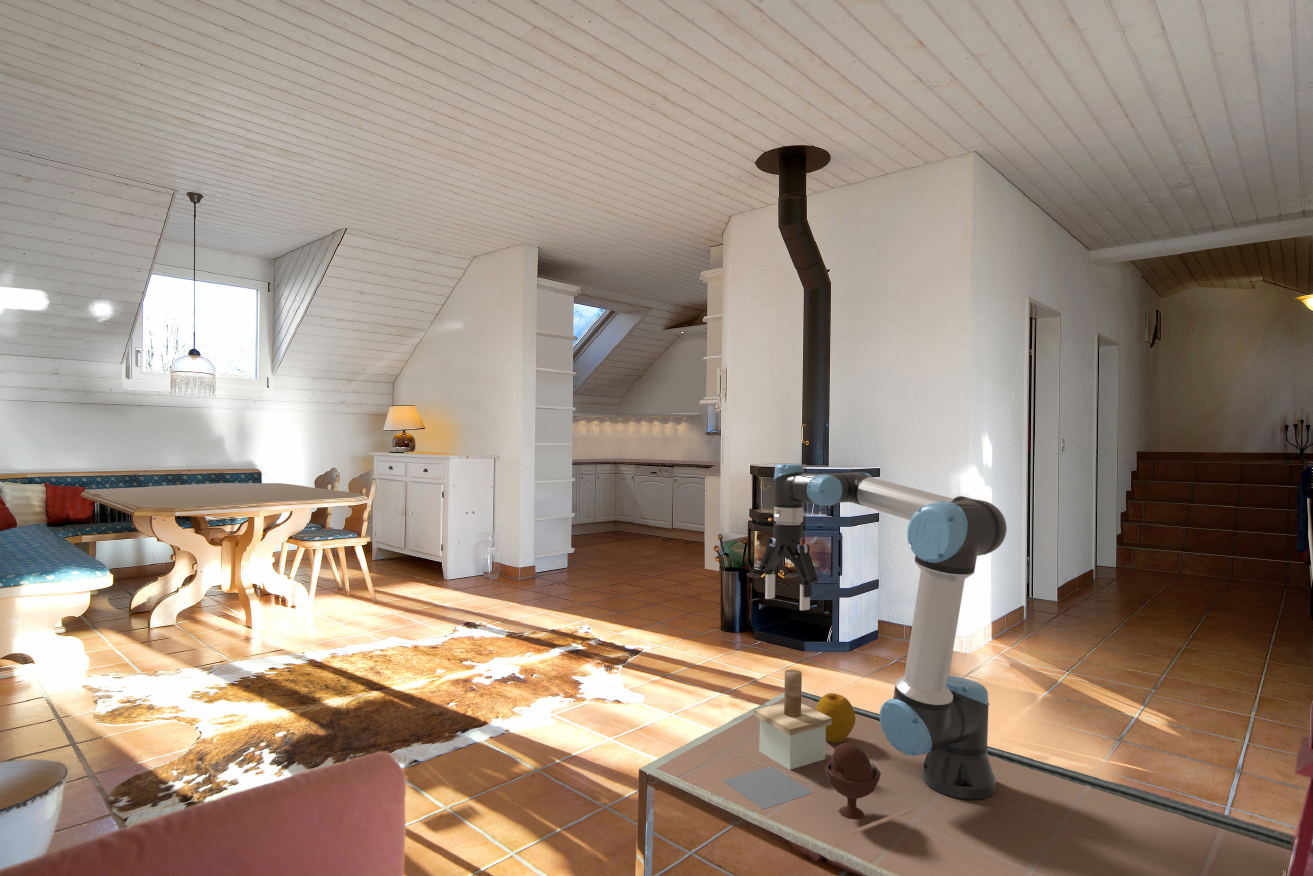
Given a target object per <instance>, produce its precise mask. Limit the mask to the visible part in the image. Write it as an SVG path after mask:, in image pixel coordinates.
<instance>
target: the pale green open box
mask: <svg viewBox="0 0 1313 876" xmlns="http://www.w3.org/2000/svg"><path fill="white" fill-rule="evenodd" d="M758 739H759V745H758V746H759V747H758V748H759V749H758V750H759V751H758V752H760V753H761V754H763V755H765V756H766V757H767V758H770V759H771V760H773V761H775V762H776V763H777V764H779V765H781V766H783V768H786V769H787V770H789V771H790V770H794V769H798V768H800V767H804V766H808V765H810V764H814V763H817V762H820V761H823V760H826V741H827V740H826V726H824V727H821V728H817V729H813V730H810V731H806V732H803V733H799V734H795V735H792V736H789V735H787V734H786V733H784V732H782V731H780V730H778V729H777V728H775V727H773V726H771V725H769V724H768V723H766V722H764V721H762V720H760V719H759V738H758Z"/></svg>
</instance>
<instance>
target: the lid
mask: <svg viewBox="0 0 1313 876" xmlns="http://www.w3.org/2000/svg"><path fill="white" fill-rule="evenodd" d="M802 675H803V673H802V671H800V670H799V669H798V670H797V669H786V670H784V692H783V693H784V694H783V695H784V697H783V698H784V699H783V700H784V702H781V703H776V704H773V705H769V706H768V705H767V706H764V707H760V708H756V709H753V717H754V718H756V719H758V720H759V721H760V720H762V721H764V722H766V723H768V724H769V725H771V726H773V727H775V728H777V729H778V730H780V731H782V732H784V733H786V734H787V735H789V736H792V735H795V734H799V733H803V732H806V731H810V730H813V729H817V728H821V727H824V726H828V725H832V718H831V717H829V716H827V715H825V714H823V713H821V712H818V711H816V709H814V708H812V707H810V706H808V705H806V704H804V703H802V690H803V689H802V682H803V681H802V680H803V679H802V678H803V677H802Z"/></svg>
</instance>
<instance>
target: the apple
mask: <svg viewBox="0 0 1313 876" xmlns="http://www.w3.org/2000/svg"><path fill="white" fill-rule="evenodd" d="M815 710H816V711H818V712H821V713H823V714H825V715H827V716H829V717H831V718H832V725H828V726H826V741H828V742H829V743H832V744H840V743H842V742H843V741H845V740H846V739H847V737H848V736H849V735H850V733H851V732H852V730H853V729H854V726H855V725H856V714H855V713H856V712H855V710H854V708H853V705H852V704H851V702H850V700H848V698H847V697H845V696H843V695H841V694H839V693H833V692H830V693H829V692H828V693H826V694H824V695H823V696H822V697H821V698H820V699H819V701H818V702H817V704H816V707H815Z"/></svg>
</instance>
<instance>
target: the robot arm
mask: <svg viewBox="0 0 1313 876" xmlns="http://www.w3.org/2000/svg"><path fill="white" fill-rule="evenodd" d="M804 503H806V504H811V505H816V506H822V507H823V506H829V507H830V506H834V505H835V504H838V503H839V504H841V503H852V504H856V505H860V506H863V507H866V508H870V509H872V510H876V511H878V512H879V511H880V512H883V513H885V514H889V515H893V516H896V517H898V518H902V519H905V520H908V521H909V523H908V525H907V530H906V537H907V542H908V544H910V550H911V551H912V553H913V554H914V563H915V564H916V566H917V567H918V568H919V569H920V574H919V580H918V586H917V592H916V598H915V599H916V600H915V605H914V612H913V618H912V626H911V630H910V638H909V644H908V651H907V657H906V662H905V664H906V665H905V671H904V675H903V676H901V677H898V678H897V679H896V681H895V683H894V684H895V685H894V691H893V698H889V699H887V700H886V701H885V702H884V703H883V704H881V707H880V710H879V722H880V723H879V724H880V727H881V730H882V732H883V734H884V735H885V737H886V740H887V741H888V742H889V743H890V745H891V746H892V747H893V748H894V749H895V750H896V751H898V752H900V753H901V754H904V755H905V756H910V757H915V756H920V755H925V758H924V761H923V763H922V768H921V769H922V770H921V771H922V772H921V778H922V780H923V782H924V783H925V784H926V786H928V787H929V788H931V789H932V790H935V791H936V792H938V793H940V794H943V795H945V794H946V796H948V795H950V796H949V797H953V798H957V799H962V800H963V799H964V800H983V799H987V798H990V797H991V796H990V795H991V794H993V793H994V794H995V792H996V777H995V774H994V773H993V769H992V764H991V762H990V758H989V754H988V739H989V738H988V737H989V735H988V732H989V706H990V703H989V692H988V690H987V688H986V687H985V686H984V685H983V684H981V683H979V682H977V681H976V680H972V679H968V678H966V677H965V678H964V677H960V676H956V675H950V671H951V670H950V669H951V666H952V660H953V659H952V658H953V654H954V647H955V640H956V635H957V628H958V624H959V619H960V618H959V616H960V612H961V611H960V610H961V604H962V599H963V592H964V586H965V580H966V579H967V578H969V577H971V576H972V575H974V574H975V569H976V564H977V558H978V557H979V556H983V555H988V554H991V553H992V552H994V551H996V550H997V549H998V548H999V547H1000V546H1001V545H1002V544H1003V542H1004V541H1005V539H1006V536H1007V529H1008V528H1007V527H1008V526H1007V521H1006V519H1005V516H1004V514H1003V512H1002V511H1001V510H1000V508H998V507H997V506H996V505H994V504H993V503H990V501H989V502H988V501H987V500H986V501H985V500H982V499H977V498H970V497H967V496H963V495H957V496H955V497H954V498H952V497H948V496H945V495H940V494H937V493H932V492H929V491H925V490H921V489H919V488H913V487H910V486H906V485H902V484H897V483H894V482H890V481H886V480H884V479H879V478H874V477H873V476H872V475H871V474H870V473H868V472H862V471H861V472H860V471H855V472H840V473H837V472H836V473H835V472H834V473H807V472H805V469H804V465H802V464H800V463H779V464H776V466H775V467H774V475H773V521H774V523H773V534H772V535H773V537H768V538H767V541H766V547H765V550H764V552H763V555H762V558H761V561H760V563H759V567H758V569H759V571H762V572H763V574H764V586H765V588H764V590H765V593H764V596H765V597H764V598H765V600H771V599H775V597H776V574H775V572H776V571H775V570H776V569H777V567H778V565H779V564H780V562H781V561H782V560H783V559H786V560H789V562H791V563H792V564H793V566H794V569H795V571H796V572H797V574H798V577H799V579H800V581H801V582H800V584H799V610H800V611H806V610H807V611H808V610H810V608H811V597H812V585H813V584H817V583H818V581H819V579H818V575H817V572H816V569H815V566H814V563H813V560H812V557H811V554H810V553H811V552H810V550H811V549H810V544H801V539H802V538H803V535H804V534H803V532H804V525H803V524H802V523H803V522H804ZM994 791H995V792H994ZM994 794H993V795H994ZM989 796H990V797H989ZM986 797H987V798H986Z"/></svg>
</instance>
